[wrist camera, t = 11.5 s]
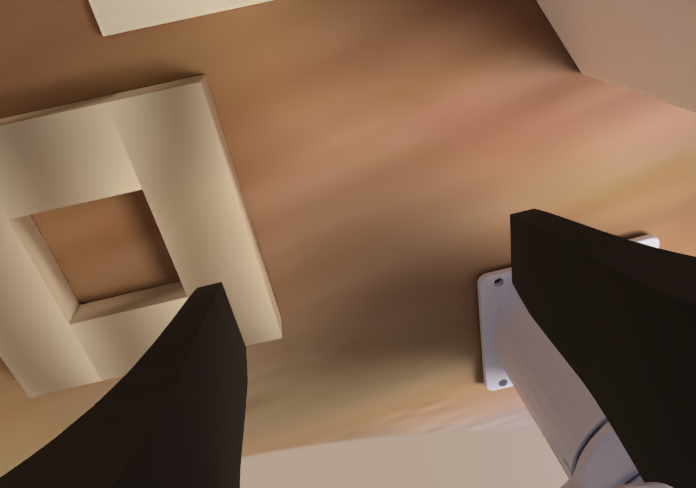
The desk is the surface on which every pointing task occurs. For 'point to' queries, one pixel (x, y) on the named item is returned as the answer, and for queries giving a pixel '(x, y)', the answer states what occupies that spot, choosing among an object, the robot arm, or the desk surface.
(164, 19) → the mat
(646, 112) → the desk surface
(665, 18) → the gable box
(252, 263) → the pocket board
